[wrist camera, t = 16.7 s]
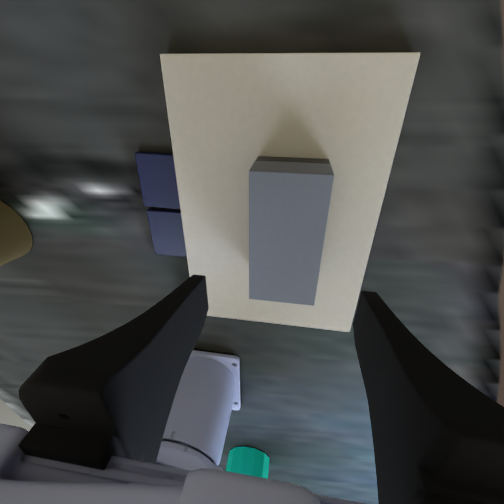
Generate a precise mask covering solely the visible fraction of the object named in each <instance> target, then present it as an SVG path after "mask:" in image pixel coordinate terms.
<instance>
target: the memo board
mask: <svg viewBox="0 0 504 504" xmlns="http://www.w3.org/2000/svg"><path fill="white" fill-rule="evenodd" d="M419 57H420V52H375V53H198V54H160V60H161V68H162V75H163V83H164V90H165V97H166V105H167V112H168V120H169V127H170V135H171V142H172V150H173V157H174V165H175V172H176V179H177V187H178V194H179V202H180V209H181V217H182V224H183V232H184V239H185V247H186V254H187V262H188V269H189V276H190V277H191V276H192V275H204V276H206V286H207V296H208V307H209V309H208V312H207V316H215V317H224V318H232V319H241V320H250V321H258V322H267V323H275V324H284V325H293V326H301V327H310V328H319V329H327V330H336V331H344V332H350V328H351V324H352V320H353V317H354V313H355V309H356V305H357V301H358V297H359V293H360V289H361V285H362V281H363V277H364V273H365V269H366V265H367V262H368V258H369V254H370V250H371V246H372V242H373V238H374V234H375V230H376V226H377V222H378V218H379V214H380V210H381V207H382V203H383V199H384V195H385V191H386V187H387V183H388V179H389V175H390V171H391V167H392V163H393V159H394V155H395V152H396V148H397V144H398V140H399V136H400V132H401V128H402V124H403V120H404V116H405V112H406V108H407V104H408V100H409V97H410V93H411V89H412V85H413V81H414V77H415V73H416V69H417V65H418V61H419ZM258 156H269V157H294V158H319V159H329V161H330V164H331V167H332V170H333V173H334V179H333V186H332V192H331V199H330V206H329V212H328V219H327V225H326V232H325V238H324V245H323V251H322V258H321V264H320V271H319V277H318V284H317V291H316V297H315V304H314V306H311V305H302V304H293V303H283V302H274V301H264V300H255V299H249V170H250V168H251V167H252V165H253V163H254V162H255V161H256V159H257V157H258Z"/></svg>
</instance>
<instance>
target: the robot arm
mask: <svg viewBox="0 0 504 504" xmlns="http://www.w3.org/2000/svg"><path fill="white" fill-rule="evenodd" d="M208 309H209V307H208V296H207V286H206V276H204V275H192V276H191V277H190V278H188V279H187V280H186V281H185V282H183V283H182V284H181V285H180V286H179V287H177V288H176V289H175V290H174V291H173V292H171V293H170V294H169V295H168V296H166V297H165V298H164V299H163V300H161V301H160V302H158V303H157V304H156V305H154V306H153V307H152V308H150V309H149V310H147V311H146V312H144V313H143V314H141V315H140V316H138V317H137V318H135V319H133V320H132V321H130V322H128V323H126V324H125V325H123V326H121V327H119V328H117V329H115V330H113V331H111V332H109V333H107V334H105V335H103V336H101V337H99V338H97V339H94V340H92V341H90V342H87V343H85V344H83V345H80V346H78V347H75V348H72V349H70V350H67V351H64V352H61V353H58V354H55V355H53V356H50V357H47V358H46V359H45V361H44V362H43V363H42V364H41V365H40V366H39V367H38V368H37V369H36V370H35V371H34V373H33V374H32V375H31V376H30V377H29V378H28V379H27V380H26V381H25V382H24V383H23V384H22V386H21V387H20V389H19V398H20V400H21V402H22V404H23V405H24V407H25V408H26V410H27V411H28V412H29V414H30V415H31V417H32V418H33V419H34V421H35V422H36V423H35V425H34V426H33V427H32V428H31V430H30V431H29V432H28V431H27V430H25V429H23V428H21V427H16V426H11V425H6V424H0V504H365V503H359V502H354V501H349V500H344V499H338V498H333V497H328V496H322V495H317V494H314V493H312V492H311V491H309V490H308V489H306V488H305V487H301V486H298V485H295V484H292V483H288V482H282V481H277V480H271V479H266V478H261V477H255V476H250V475H245V474H239V473H234V472H229V471H223V470H222V467H220V466H218V465H219V463H220V460H221V456H222V451H223V447H224V442H225V437H226V433H227V428H228V424H229V419H230V415H231V410H240V407H241V398H240V362H239V358H238V357H237V356H234V355H227V354H219V353H212V352H204V351H196V350H193V349H194V346H195V344H196V342H197V340H198V337H199V335H200V333H201V331H202V328H203V326H204V322H205V319H206V316H207V312H208ZM353 328H354V338H355V346H356V351H357V355H358V359H359V364H360V368H361V372H362V376H363V380H364V385H365V389H366V393H367V398H368V404H369V412H370V419H371V427H372V436H373V444H374V454H375V464H376V475H377V487H378V500H379V504H504V407H503V406H501V405H500V404H498V403H497V402H495V401H494V400H492V399H491V398H489V397H488V396H486V395H485V394H483V393H482V392H480V391H479V390H478V389H476V388H475V387H473V386H472V385H471V384H469V383H468V382H466V381H465V380H464V379H463V378H461V377H460V376H459V375H457V374H456V373H455V372H453V371H452V370H451V369H450V368H448V367H447V366H446V365H445V364H444V363H442V362H441V361H440V360H439V359H438V358H437V357H436V356H434V355H433V354H432V353H431V352H430V351H429V350H428V349H427V348H426V347H425V346H424V345H422V343H421V342H420V341H419V340H418V339H417V338H416V337H415V336H414V335H413V334H412V333H411V332H410V331H409V330H408V329H407V328H406V327H405V326H404V325H403V324H402V323H401V321H400V320H399V319H398V318H397V317H396V316H395V314H394V313H393V312H392V311H391V310H390V308H389V307H388V306H387V305H386V304H385V302H384V301H383V300H382V299H381V298H380V296H379V295H378V294H377V293H376V292H368V291H362V292H361V296H360V300H359V304H358V308H357V311H356V315H355V319H354V323H353Z"/></svg>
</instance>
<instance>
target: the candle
mask: <svg viewBox="0 0 504 504" xmlns="http://www.w3.org/2000/svg"><path fill="white" fill-rule="evenodd" d="M269 460H270V458H269V457H268V456H267V455H266V454H265V453H264V452H262V451H260V450H258V449H255V448H250V447H245V446H243V447H235V448H233V449H232V450H230V451H229V456H228V461H227V466H226V471H229V472H234V473H239V474H245V475H250V476H255V477H261V478H266V479H268V471H269Z"/></svg>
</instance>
